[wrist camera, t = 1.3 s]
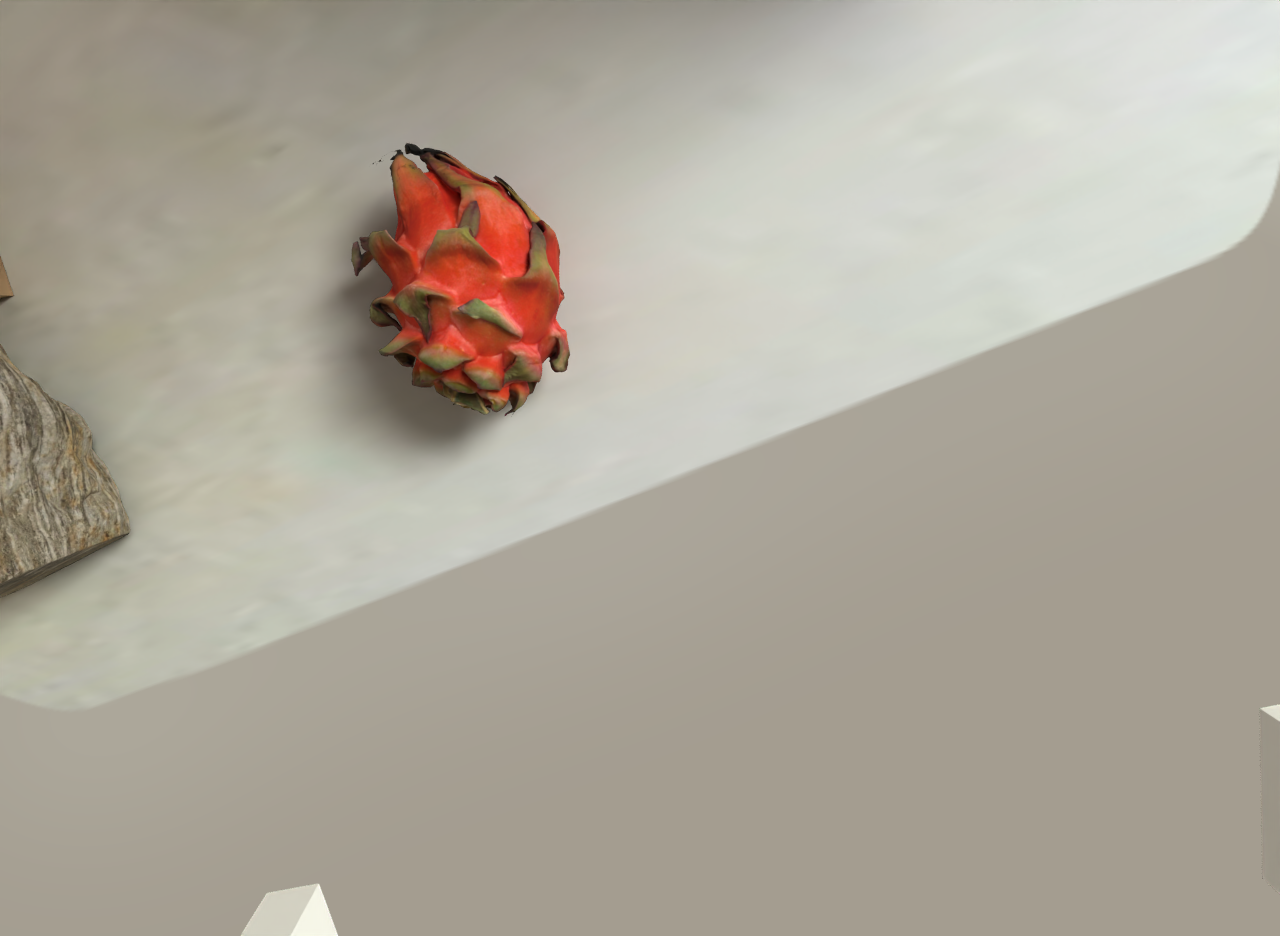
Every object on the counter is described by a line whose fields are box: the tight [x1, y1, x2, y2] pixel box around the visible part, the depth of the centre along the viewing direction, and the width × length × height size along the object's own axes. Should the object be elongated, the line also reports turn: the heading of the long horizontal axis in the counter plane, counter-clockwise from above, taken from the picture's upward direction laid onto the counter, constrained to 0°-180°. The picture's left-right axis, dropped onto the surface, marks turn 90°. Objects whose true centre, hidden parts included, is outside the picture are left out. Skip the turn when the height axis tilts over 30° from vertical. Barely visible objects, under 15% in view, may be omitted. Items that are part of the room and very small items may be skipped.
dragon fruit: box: [351, 143, 570, 417], centre depth 31 cm, size 8×8×12 cm
